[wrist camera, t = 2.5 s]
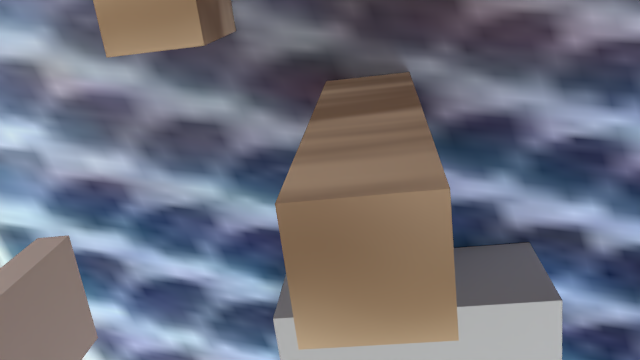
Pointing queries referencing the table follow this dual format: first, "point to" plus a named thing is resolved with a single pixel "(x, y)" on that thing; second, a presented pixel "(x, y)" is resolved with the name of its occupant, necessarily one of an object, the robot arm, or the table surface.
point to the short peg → (161, 24)
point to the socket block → (468, 314)
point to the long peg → (368, 221)
